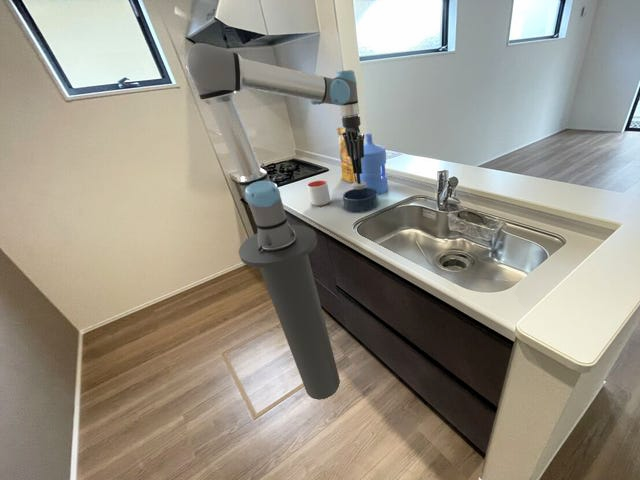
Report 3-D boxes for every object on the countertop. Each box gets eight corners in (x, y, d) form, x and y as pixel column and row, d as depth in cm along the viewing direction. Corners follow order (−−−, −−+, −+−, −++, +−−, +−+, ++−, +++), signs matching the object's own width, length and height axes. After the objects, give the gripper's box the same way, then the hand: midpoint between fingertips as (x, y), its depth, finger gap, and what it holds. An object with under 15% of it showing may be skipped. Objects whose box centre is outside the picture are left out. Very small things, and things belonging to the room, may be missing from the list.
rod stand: (358, 190, 136) (353, 151, 126) (350, 187, 141) (344, 149, 130) (369, 186, 139) (364, 147, 129) (360, 183, 143) (356, 146, 133)
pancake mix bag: (348, 175, 188) (341, 126, 172) (362, 181, 174) (357, 129, 158) (338, 177, 186) (331, 128, 170) (352, 184, 172) (346, 131, 156)
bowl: (358, 215, 136) (356, 203, 132) (337, 206, 147) (336, 195, 143) (385, 204, 143) (384, 192, 140) (364, 196, 154) (362, 185, 151)
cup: (318, 198, 159) (314, 179, 153) (334, 200, 155) (331, 180, 149) (307, 205, 152) (303, 186, 146) (323, 207, 148) (319, 187, 142)
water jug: (364, 198, 153) (358, 139, 136) (355, 189, 165) (348, 134, 149) (392, 192, 156) (389, 134, 140) (382, 183, 168) (378, 129, 152)
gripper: (368, 114, 119) (374, 173, 133) (347, 113, 129) (354, 168, 143) (353, 118, 116) (361, 178, 130) (333, 116, 126) (342, 173, 139)
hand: (357, 173), depth 136 cm, fingers closed on rod stand, 2 cm apart
